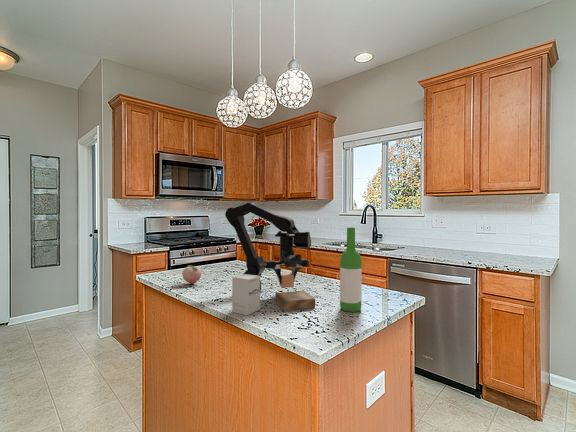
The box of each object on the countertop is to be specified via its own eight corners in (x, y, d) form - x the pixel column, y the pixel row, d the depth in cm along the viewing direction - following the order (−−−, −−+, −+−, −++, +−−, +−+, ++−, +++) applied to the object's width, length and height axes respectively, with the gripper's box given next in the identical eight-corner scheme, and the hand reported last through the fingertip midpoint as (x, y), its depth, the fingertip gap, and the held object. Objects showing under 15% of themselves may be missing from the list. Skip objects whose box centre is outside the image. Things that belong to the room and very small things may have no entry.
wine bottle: (365, 309, 118) (365, 227, 117) (354, 314, 112) (354, 228, 111) (347, 304, 123) (347, 226, 122) (335, 309, 117) (336, 227, 116)
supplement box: (247, 315, 110) (247, 279, 110) (231, 312, 114) (231, 276, 114) (260, 310, 116) (260, 275, 116) (244, 306, 120) (244, 273, 120)
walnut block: (284, 312, 115) (284, 301, 115) (275, 303, 127) (275, 292, 127) (315, 309, 119) (315, 298, 119) (304, 300, 130) (304, 290, 130)
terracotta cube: (282, 287, 134) (282, 275, 134) (279, 285, 139) (279, 273, 139) (293, 287, 136) (293, 275, 135) (290, 284, 140) (290, 273, 140)
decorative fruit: (178, 284, 155) (178, 264, 155) (191, 281, 162) (191, 262, 162) (191, 287, 150) (191, 266, 150) (204, 284, 157) (204, 263, 157)
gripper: (269, 250, 126) (269, 289, 127) (313, 248, 132) (313, 286, 132) (263, 247, 137) (263, 283, 137) (304, 245, 143) (304, 280, 143)
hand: (286, 283), depth 137 cm, fingers closed on terracotta cube, 5 cm apart
